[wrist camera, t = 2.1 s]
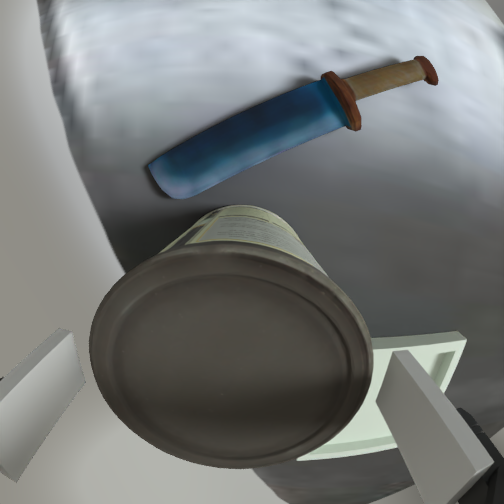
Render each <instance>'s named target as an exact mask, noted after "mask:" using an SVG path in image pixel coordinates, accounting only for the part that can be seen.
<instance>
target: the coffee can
mask: <svg viewBox="0 0 504 504" xmlns="http://www.w3.org/2000/svg"><path fill="white" fill-rule="evenodd" d="M89 353H90V361H91V366H92V370H93V373H94V377H95V380H96V382H97V385H98V387H99V390H100V392H101V394H102V395H103V398H104V399H105V401H106V402H107V404H108V405H109V407H110V408H111V409H112V411H113V412H114V413H115V414H116V415H117V416H118V418H119V419H120V420H121V421H122V422H123V423H124V424H125V425H126V426H127V427H128V428H129V429H131V430H132V431H133V432H134V433H136V434H137V435H138V436H140V437H141V438H142V439H144V440H145V441H147V442H148V443H150V444H151V445H153V446H155V447H156V448H158V449H160V450H162V451H164V452H166V453H168V454H170V455H173V456H175V457H178V458H180V459H183V460H186V461H189V462H193V463H197V464H201V465H206V466H212V467H217V468H229V469H249V468H260V467H267V466H272V465H276V464H280V463H284V462H287V461H291V460H294V459H297V458H299V457H301V456H304V455H306V454H308V453H310V452H312V451H314V450H316V449H317V448H319V447H321V446H322V445H324V444H326V443H327V442H329V441H330V440H331V439H333V438H334V437H335V436H336V435H338V434H339V433H340V432H341V431H342V430H343V429H344V428H345V427H346V426H347V425H348V424H349V423H350V421H351V420H352V419H353V417H354V416H355V415H356V413H357V412H358V411H359V409H360V407H361V406H362V404H363V402H364V400H365V398H366V395H367V393H368V390H369V387H370V384H371V380H372V374H373V368H374V354H373V348H372V342H371V337H370V334H369V331H368V328H367V326H366V323H365V321H364V319H363V317H362V316H361V314H360V312H359V311H358V309H357V308H356V306H355V304H354V303H353V302H352V301H351V299H350V298H349V297H348V296H347V295H346V294H345V293H344V292H343V291H342V289H341V288H340V287H339V286H338V285H336V284H335V283H334V282H333V281H332V280H331V279H330V278H329V277H328V276H327V274H326V273H325V272H324V270H323V269H322V268H321V267H320V265H319V264H318V263H317V261H316V260H315V259H314V258H313V256H312V255H311V254H310V252H309V251H308V250H307V249H306V247H305V246H304V245H303V243H302V242H301V241H300V239H299V237H298V236H297V234H296V233H295V231H294V230H293V229H292V228H291V227H290V226H289V224H288V223H286V222H285V221H284V220H283V219H282V218H280V217H279V216H277V215H276V214H274V213H272V212H270V211H268V210H265V209H262V208H259V207H255V206H252V205H232V206H226V207H222V208H219V209H216V210H214V211H212V212H210V213H208V214H206V215H205V216H203V217H201V218H200V219H199V220H198V221H197V222H196V223H195V224H194V225H193V226H192V227H191V228H190V229H188V230H187V231H186V232H185V233H183V234H182V235H181V236H180V237H178V238H177V239H176V240H175V241H173V242H172V243H171V244H169V245H168V246H167V247H166V248H164V249H163V250H162V251H161V252H159V253H158V254H157V255H155V256H153V257H151V258H149V259H147V260H145V261H143V262H142V263H140V264H139V265H137V266H136V267H135V268H133V269H132V270H130V271H129V272H128V273H126V274H125V275H124V276H123V277H122V278H121V279H119V281H118V282H116V283H115V284H114V286H113V287H112V288H111V289H110V291H109V292H108V293H107V294H106V295H105V297H104V299H103V300H102V302H101V303H100V305H99V307H98V309H97V311H96V314H95V316H94V319H93V322H92V326H91V331H90V337H89Z"/></svg>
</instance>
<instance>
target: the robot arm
mask: <svg viewBox="0 0 504 504" xmlns="http://www.w3.org/2000/svg"><path fill="white" fill-rule="evenodd" d="M85 383H86V381H85V378H84V374H83V371H82V368H81V364H80V360H79V357H78V353H77V349H76V345H75V341H74V337H73V332H72V331H69V330H65V329H60V328H59V329H58V330H56V331H55V332H54V333H53V334H52V335H51V336H49V337H48V338H47V339H46V340H45V341H44V342H43V343H41V344H40V345H39V346H38V347H37V348H36V349H35V350H33V351H32V352H31V353H30V354H29V355H28V356H27V357H26V358H25V359H23V360H22V361H21V362H20V363H19V364H18V365H17V366H16V367H15V368H14V369H13V370H11V372H9V373H8V374H7V375H6V376H5V377H2V378H0V471H1V473H2V474H4V475H5V476H7V477H8V478H9V479H11V480H13V481H14V482H16V483H17V481H18V480H19V478H20V476H21V475H22V473H23V472H24V470H25V468H26V467H27V465H28V464H29V462H30V461H31V459H32V458H33V456H34V455H35V453H36V452H37V450H38V449H39V447H40V446H41V444H42V443H43V441H44V440H45V438H46V437H47V436H48V434H49V433H50V431H51V430H52V428H53V427H54V425H55V424H56V423H57V421H58V420H59V418H60V417H61V415H62V414H63V413H64V411H65V410H66V408H67V407H68V406H69V404H70V403H71V402H72V400H73V399H74V397H75V396H76V395H77V393H78V392H79V391H80V389H81V388H82V387H83V385H84V384H85ZM375 402H376V404H377V406H378V408H379V410H380V412H381V414H382V416H383V418H384V420H385V422H386V424H387V426H388V428H389V430H390V432H391V434H392V436H393V438H394V440H395V442H396V444H397V446H398V448H399V450H400V452H401V455H402V457H403V459H404V461H405V463H406V465H407V467H408V469H409V472H410V474H411V476H412V478H413V480H414V482H415V485H416V487H417V489H418V491H419V494H420V496H421V498H422V500H423V503H424V504H455V503H456V502H457V501H458V502H459V504H504V458H503V457H502V455H501V454H500V453H499V451H498V450H497V448H496V447H495V446H494V444H493V443H492V442H491V440H490V439H489V438H488V436H487V435H486V434H485V432H484V433H483V430H482V428H481V427H480V426H479V425H477V424H478V423H477V422H476V421H475V419H474V418H473V417H472V416H471V414H469V413H468V412H466V411H465V410H463V409H462V408H458V409H455V407H454V406H453V405H452V403H451V402H450V401H449V400H448V398H447V397H446V396H445V395H444V393H443V392H442V391H441V389H440V388H439V387H438V386H437V384H436V383H435V382H434V381H433V379H432V378H431V377H430V376H429V375H428V373H427V372H426V371H425V370H424V368H423V367H422V366H421V365H420V364H419V362H418V361H417V360H416V359H415V358H414V356H413V355H412V354H411V353H410V352H409V350H400V351H393V352H392V355H391V358H390V361H389V364H388V367H387V370H386V373H385V376H384V379H383V382H382V385H381V388H380V390H379V393H378V396H377V398H376V401H375Z"/></svg>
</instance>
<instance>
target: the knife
mask: <svg viewBox="0 0 504 504" xmlns="http://www.w3.org/2000/svg"><path fill="white" fill-rule="evenodd" d="M420 80H424V81H426V82H427V83H428V84H431V85H435V86H436V85H437V84H438V76H437V73H436V71H435V69H434V67H433V65H432V64H431V63H430V61H429V60H428V59H427V58H425V57H424V56H416V57H415V58H414V60H410V61H406V62H402V63H398V64H394V65H390V66H386V67H383V68H379V69H375V70H372V71H369V72H365V73H362V74H359V75H356V76H352V77H349V78H346V79H340V78H339V77H338V76H337V75H336V74H335V73H334V72H332V71H329V72H326V73H324V74H322V75H321V80H319V81H316V82H313V83H311V84H308V85H305V86H303V87H300V88H297V89H295V90H292V91H290V92H287V93H285V94H282V95H280V96H278V97H275V98H273V99H271V100H268V101H266V102H264V103H261V104H259V105H257V106H255V107H252V108H250V109H248V110H246V111H244V112H242V113H240V114H238V115H235V116H233V117H231V118H229V119H227V120H225V121H223V122H221V123H219V124H217V125H215V126H213V127H211V128H210V129H208V130H206V131H204V132H202V133H200V134H198V135H196V136H195V137H193V138H191V139H189V140H187V141H186V142H184V143H182V144H180V145H179V146H177V147H175V148H173V149H172V150H170V151H168V152H167V153H165V154H163V155H162V156H160V157H159V158H158V159H156V160H155V161H153V162H152V163H151V164H149V165H148V167H149V169H150V171H151V173H152V175H153V177H154V179H155V180H156V182H157V183H158V185H159V186H160V188H161V189H162V190H163V191H164V192H166V193H167V194H168V195H169V196H170V197H172V198H176V199H185V198H189V197H192V196H195V195H197V194H199V193H200V192H202V191H204V190H206V189H208V188H210V187H212V186H214V185H216V184H218V183H220V182H222V181H224V180H226V179H228V178H230V177H232V176H234V175H236V174H238V173H240V172H242V171H244V170H246V169H248V168H250V167H252V166H254V165H256V164H258V163H260V162H263V161H265V160H267V159H269V158H271V157H273V156H276V155H278V154H280V153H282V152H284V151H287V150H289V149H291V148H293V147H296V146H298V145H300V144H302V143H305V142H307V141H309V140H312V139H314V138H316V137H319V136H321V135H324V134H326V133H328V132H331V131H333V130H336V129H338V128H341V127H343V126H346V127H347V129H350V130H353V131H358V130H361V115H360V113H359V110H358V107H357V105H356V101H357V100H359V99H362V98H365V97H368V96H371V95H374V94H377V93H380V92H383V91H386V90H389V89H393V88H396V87H399V86H402V85H406V84H409V83H413V82H416V81H420Z"/></svg>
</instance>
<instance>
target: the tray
mask: <svg viewBox="0 0 504 504" xmlns="http://www.w3.org/2000/svg"><path fill="white" fill-rule="evenodd" d="M466 341H467V339H466V338H465V337H464V336H462V335H461V334H460V333H459V332H458V331H452V332H443V333H434V334H423V335H411V336H397V337H380V338H371V342H372V348H373V354H374V368H373V374H372V380H371V384H370V387H369V390H368V393H367V395H366V398H365V400H364V402H363V404H362V406H361V407H360V409H359V411H358V412H357V413H356V415H355V416H354V417H353V419H352V420H351V421H350V423H349V424H348V425H347V426H346V427H345V428H344V429H343V430H342V431H341V432H340V433H339V434H338V435H336V436H335V437H334V438H333V439H331V440H330V441H329V442H327V443H326V444H324V445H322V446H321V447H319V448H317V449H316V450H314V451H312V452H310V453H308V454H306V455H304V456H301V457H299V458H297V461H300V460H316V459H327V458H337V457H345V456H352V455H359V454H365V453H371V452H377V451H382V450H387V449H392V448H396V447H398V446H397V444H396V442H395V440H394V438H393V436H392V434H391V432H390V430H389V428H388V426H387V424H386V422H385V420H384V418H383V416H382V414H381V412H380V410H379V408H378V406H377V404H376V402H375V401H376V398H377V396H378V393H379V390H380V388H381V385H382V382H383V379H384V376H385V373H386V370H387V367H388V364H389V361H390V358H391V355H392V352H393V351H400V350H409V352H410V353H411V354H412V355H413V356H414V358H415V359H416V360H417V361H418V362H419V364H420V365H421V366H422V367H423V368H424V370H425V371H426V372H427V373H428V375H429V376H430V377H431V378H432V379H433V381H434V382H435V383H436V384H437V386H438V387H439V388H440V389H441V391H442V392H443V393H444V392H445V390H446V388H447V386H448V384H449V382H450V380H451V377H452V375H453V373H454V371H455V368H456V366H457V364H458V361H459V359H460V356H461V354H462V351H463V349H464V346H465V343H466Z"/></svg>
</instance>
